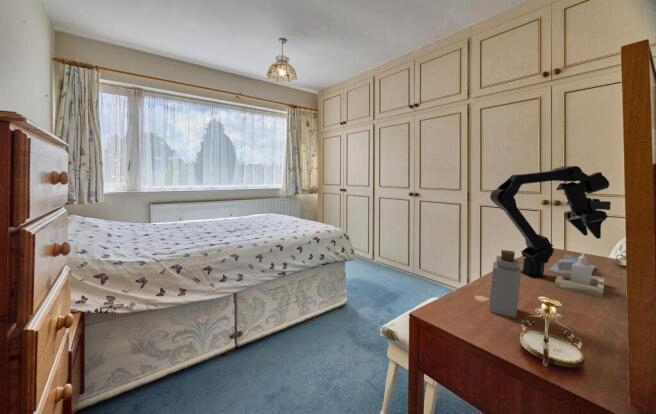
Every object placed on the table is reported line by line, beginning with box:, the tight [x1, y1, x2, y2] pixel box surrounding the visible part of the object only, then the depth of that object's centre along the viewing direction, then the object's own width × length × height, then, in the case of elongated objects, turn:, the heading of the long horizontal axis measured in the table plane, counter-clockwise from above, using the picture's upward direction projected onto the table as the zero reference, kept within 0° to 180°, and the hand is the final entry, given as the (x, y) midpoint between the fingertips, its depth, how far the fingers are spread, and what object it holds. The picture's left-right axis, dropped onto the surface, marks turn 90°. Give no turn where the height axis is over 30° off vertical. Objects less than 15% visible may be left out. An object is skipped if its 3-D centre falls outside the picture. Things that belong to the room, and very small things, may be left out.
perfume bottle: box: [488, 249, 522, 319], centre depth 86 cm, size 7×7×18 cm
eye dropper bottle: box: [569, 253, 593, 285], centre depth 105 cm, size 4×6×12 cm
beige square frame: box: [554, 270, 605, 298], centre depth 106 cm, size 16×13×2 cm
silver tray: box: [549, 253, 596, 274], centre depth 123 cm, size 12×20×4 cm, turn 132°
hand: (592, 236), depth 109 cm, fingers open, 9 cm apart
